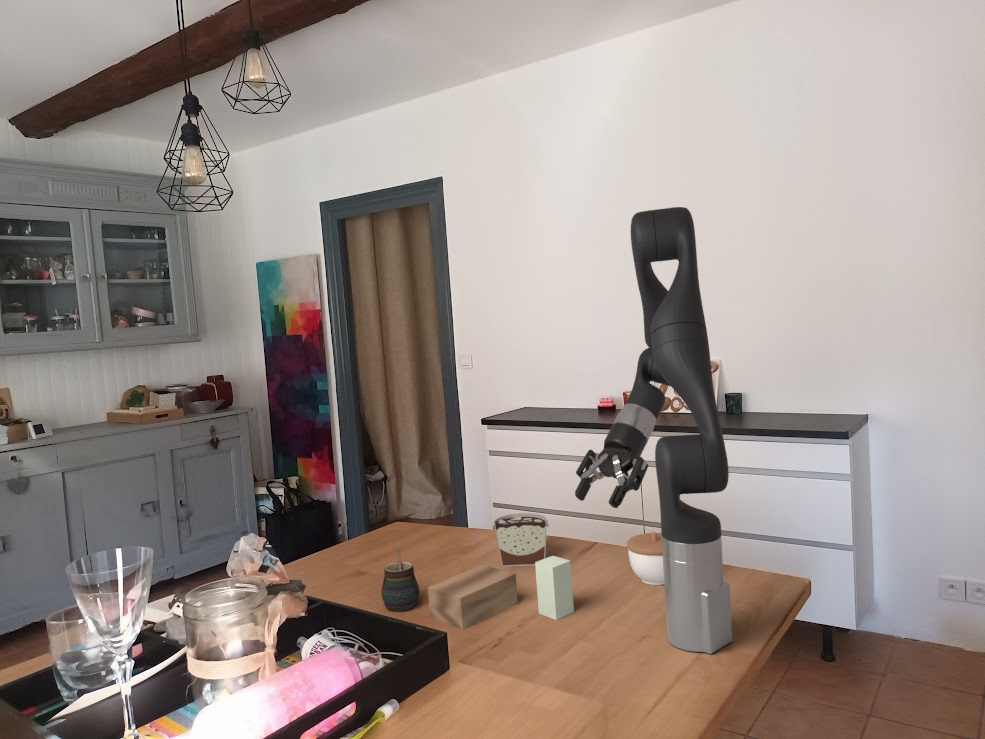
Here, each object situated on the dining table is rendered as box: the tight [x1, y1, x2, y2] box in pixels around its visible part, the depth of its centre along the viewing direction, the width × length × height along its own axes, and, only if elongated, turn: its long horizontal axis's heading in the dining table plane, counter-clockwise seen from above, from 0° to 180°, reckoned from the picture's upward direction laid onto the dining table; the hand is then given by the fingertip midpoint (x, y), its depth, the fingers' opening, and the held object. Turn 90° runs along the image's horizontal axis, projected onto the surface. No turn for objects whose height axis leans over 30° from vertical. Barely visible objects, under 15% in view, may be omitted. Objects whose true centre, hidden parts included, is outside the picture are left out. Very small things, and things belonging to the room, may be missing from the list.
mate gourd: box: [380, 549, 421, 612], centre depth 142 cm, size 7×8×10 cm
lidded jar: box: [626, 531, 664, 586], centre depth 146 cm, size 11×11×9 cm
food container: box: [491, 512, 550, 567], centre depth 162 cm, size 12×6×10 cm, turn 84°
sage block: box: [534, 555, 575, 621], centre depth 133 cm, size 4×4×10 cm
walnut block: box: [427, 564, 519, 631], centre depth 137 cm, size 9×14×6 cm, turn 134°
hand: (595, 502), depth 140 cm, fingers open, 8 cm apart
